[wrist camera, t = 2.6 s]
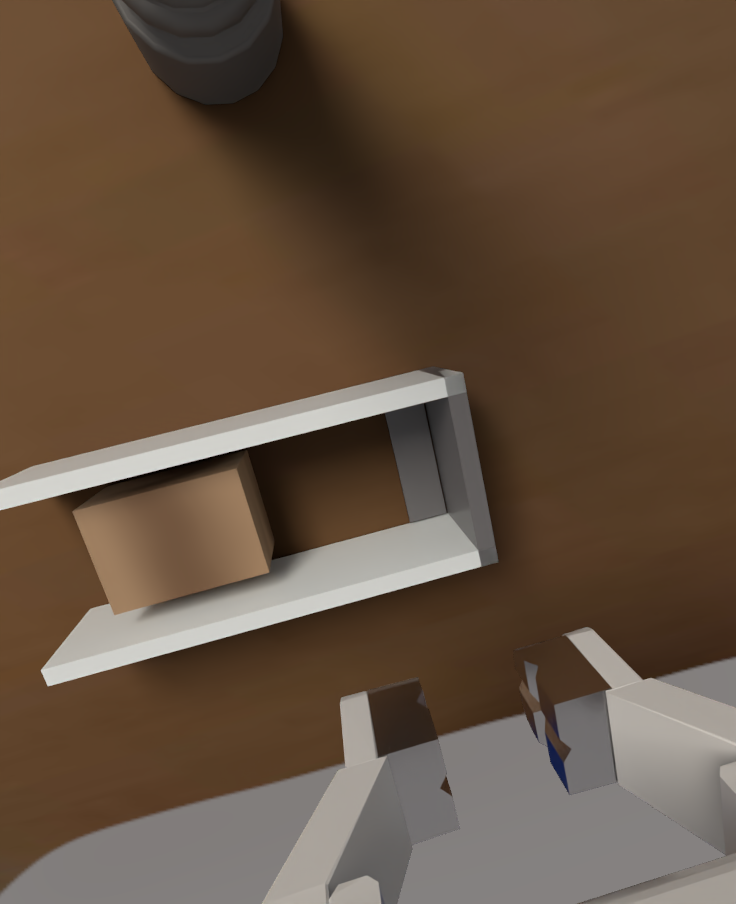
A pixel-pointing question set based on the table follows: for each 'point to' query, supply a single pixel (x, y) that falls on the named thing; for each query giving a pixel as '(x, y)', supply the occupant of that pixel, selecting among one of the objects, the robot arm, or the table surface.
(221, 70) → the candle holder
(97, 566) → the light brown block
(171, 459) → the white channel
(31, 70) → the table surface
